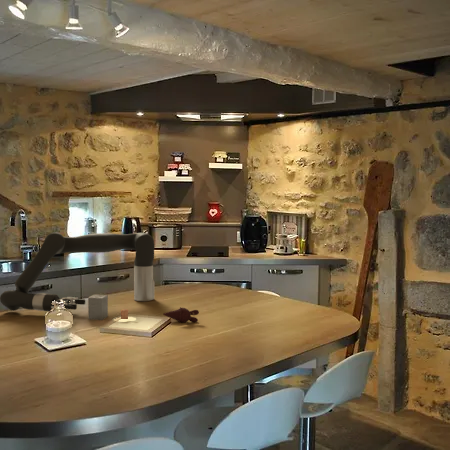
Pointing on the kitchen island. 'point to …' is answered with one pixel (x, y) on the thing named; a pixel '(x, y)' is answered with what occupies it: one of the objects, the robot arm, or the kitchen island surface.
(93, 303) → the grey block
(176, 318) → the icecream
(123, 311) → the peach dome knob
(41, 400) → the kitchen island surface
